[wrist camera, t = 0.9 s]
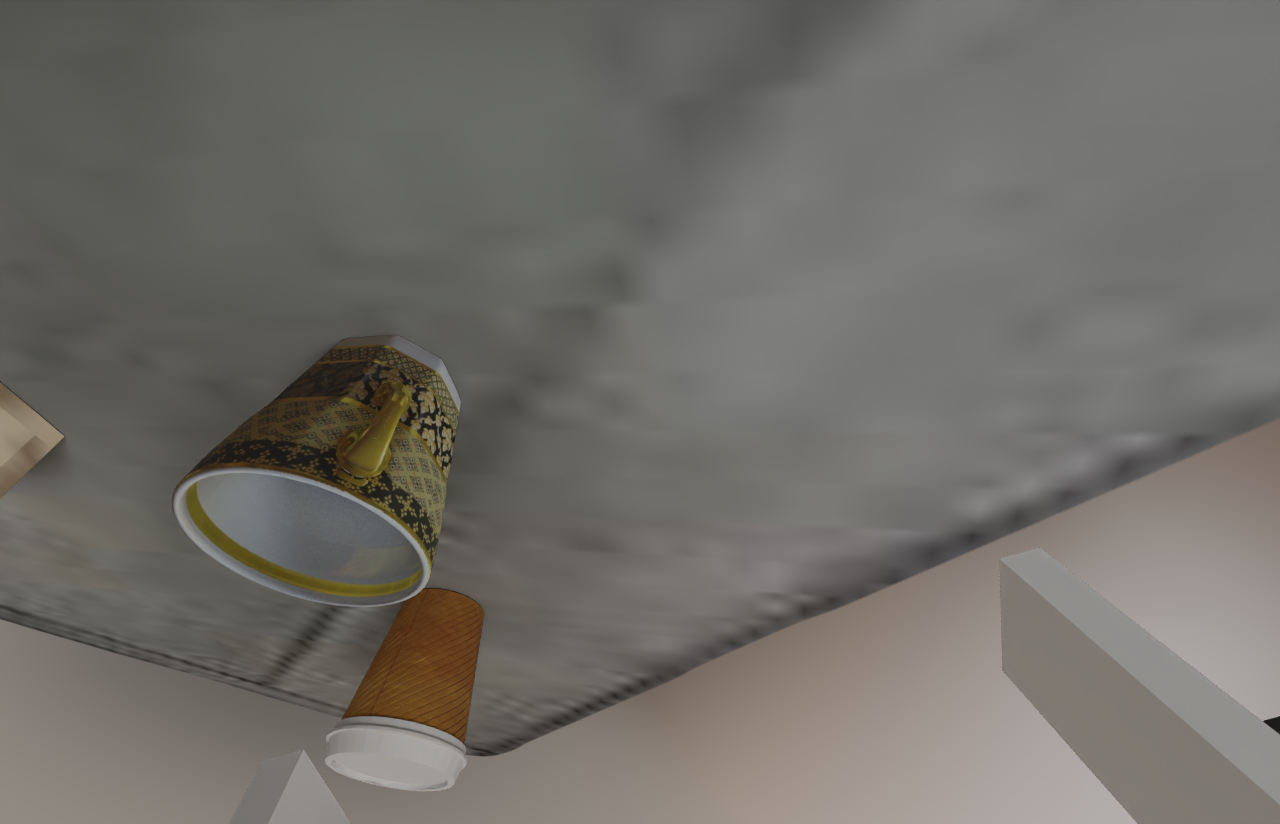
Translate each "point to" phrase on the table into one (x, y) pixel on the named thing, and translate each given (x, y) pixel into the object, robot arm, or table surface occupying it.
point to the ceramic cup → (334, 479)
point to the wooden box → (21, 439)
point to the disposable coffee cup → (414, 698)
